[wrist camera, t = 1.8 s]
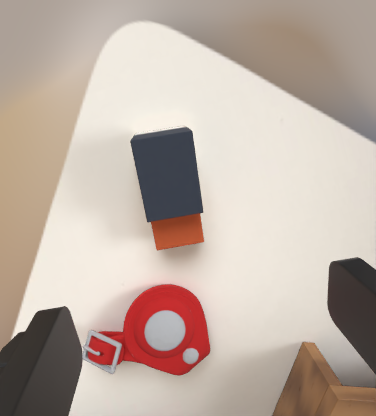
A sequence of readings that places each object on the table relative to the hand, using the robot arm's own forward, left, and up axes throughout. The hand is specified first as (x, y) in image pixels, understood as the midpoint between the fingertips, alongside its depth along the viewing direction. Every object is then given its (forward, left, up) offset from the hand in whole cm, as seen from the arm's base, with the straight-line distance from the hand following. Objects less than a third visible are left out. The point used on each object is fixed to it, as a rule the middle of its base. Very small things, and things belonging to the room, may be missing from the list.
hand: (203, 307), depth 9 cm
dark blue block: (+1, 0, -18) cm, 18 cm away
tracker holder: (+16, +1, -18) cm, 24 cm away
